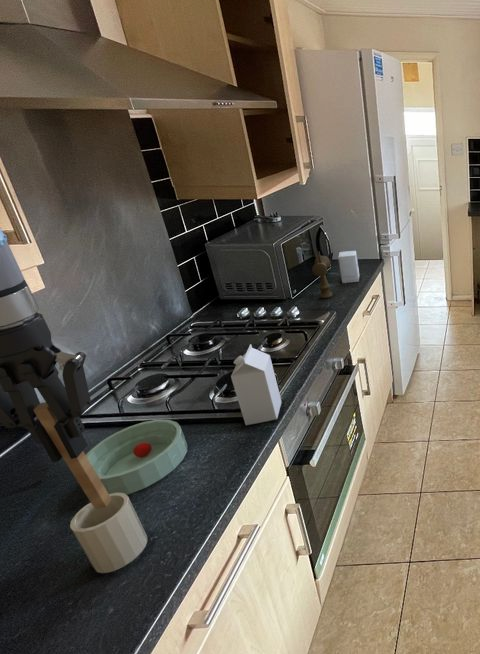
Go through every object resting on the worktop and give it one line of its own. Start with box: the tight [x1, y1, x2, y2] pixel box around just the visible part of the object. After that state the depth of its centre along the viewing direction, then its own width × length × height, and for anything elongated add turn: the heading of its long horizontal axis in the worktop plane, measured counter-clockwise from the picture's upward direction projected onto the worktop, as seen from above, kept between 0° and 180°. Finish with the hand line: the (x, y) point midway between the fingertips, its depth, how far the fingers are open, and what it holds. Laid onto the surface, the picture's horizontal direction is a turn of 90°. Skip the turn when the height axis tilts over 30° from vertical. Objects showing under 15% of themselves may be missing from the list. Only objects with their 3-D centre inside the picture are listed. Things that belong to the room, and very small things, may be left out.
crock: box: [69, 493, 148, 574], centre depth 72 cm, size 7×7×11 cm
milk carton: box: [230, 343, 283, 426], centre depth 104 cm, size 7×7×19 cm
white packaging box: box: [337, 250, 360, 284], centre depth 187 cm, size 7×7×13 cm
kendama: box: [311, 251, 334, 299], centre depth 169 cm, size 6×10×20 cm, turn 16°
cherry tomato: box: [134, 443, 151, 457], centre depth 94 cm, size 3×3×3 cm
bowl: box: [85, 419, 188, 496], centre depth 91 cm, size 17×17×6 cm
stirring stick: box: [33, 401, 111, 509], centre depth 66 cm, size 2×2×22 cm
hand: (70, 453), depth 65 cm, fingers closed on stirring stick, 2 cm apart
